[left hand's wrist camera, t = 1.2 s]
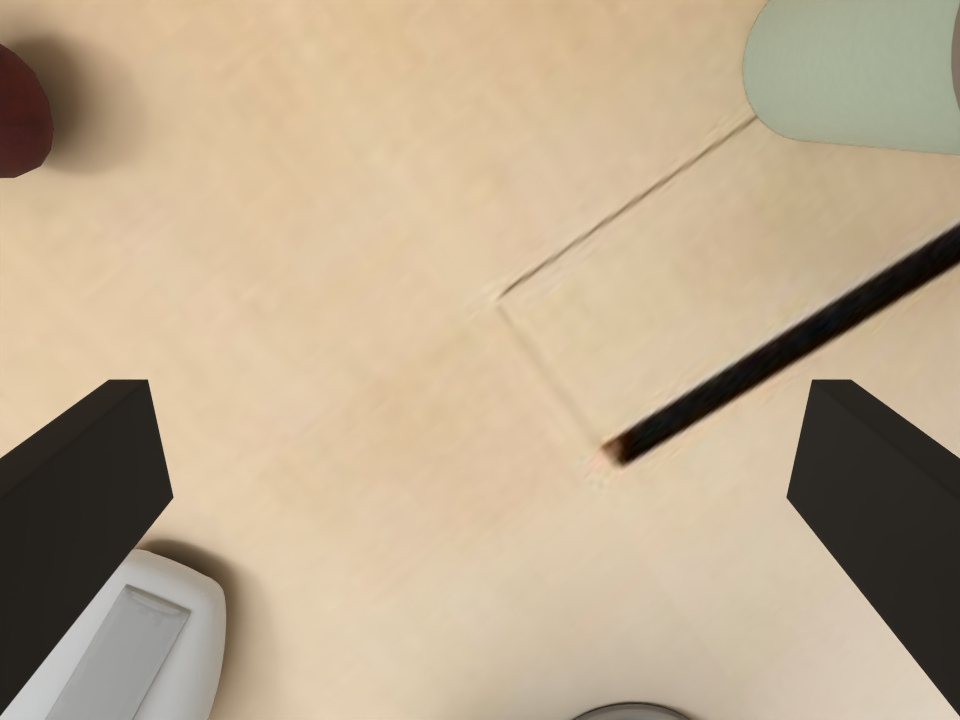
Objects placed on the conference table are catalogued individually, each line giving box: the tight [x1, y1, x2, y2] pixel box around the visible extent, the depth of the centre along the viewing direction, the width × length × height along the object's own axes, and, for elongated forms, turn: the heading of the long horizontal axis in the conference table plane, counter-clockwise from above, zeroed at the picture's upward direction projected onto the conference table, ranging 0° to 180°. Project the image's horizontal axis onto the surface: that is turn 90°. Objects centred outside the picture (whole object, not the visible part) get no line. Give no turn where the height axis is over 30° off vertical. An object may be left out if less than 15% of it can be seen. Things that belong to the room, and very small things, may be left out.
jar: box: [743, 0, 960, 156], centre depth 26 cm, size 9×9×20 cm
